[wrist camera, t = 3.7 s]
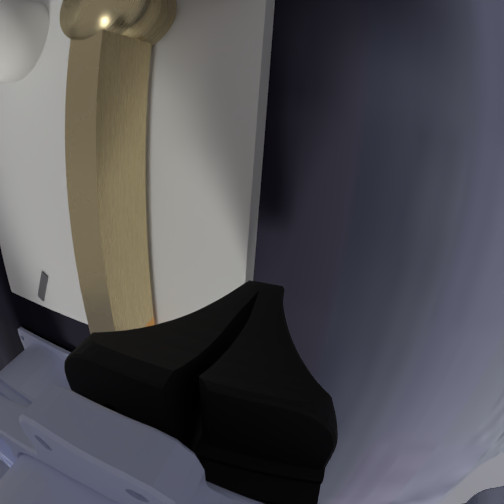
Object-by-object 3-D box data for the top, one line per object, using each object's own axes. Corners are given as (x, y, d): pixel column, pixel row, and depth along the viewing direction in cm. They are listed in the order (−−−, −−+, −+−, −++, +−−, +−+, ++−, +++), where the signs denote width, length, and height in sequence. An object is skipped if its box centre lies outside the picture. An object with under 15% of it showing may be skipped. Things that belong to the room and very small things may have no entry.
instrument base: (247, 352, 17) (205, 445, 11) (24, 283, 20) (-33, 322, 15) (278, -54, 9) (236, -139, 3) (13, 19, 12) (-58, 16, 7)
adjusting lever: (173, 343, 15) (142, 384, 13) (120, 327, 16) (86, 362, 13) (181, -22, 9) (137, -52, 6) (116, -7, 9) (67, -25, 7)
